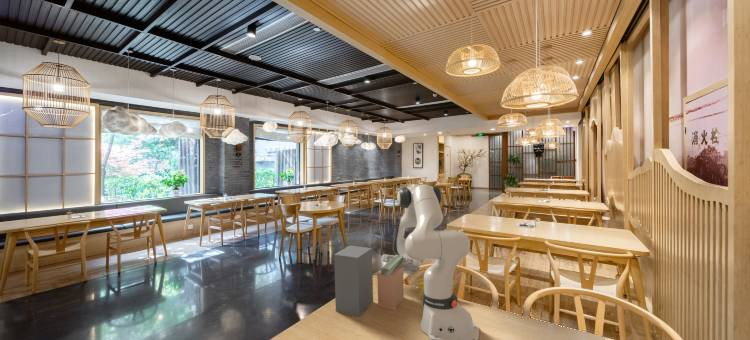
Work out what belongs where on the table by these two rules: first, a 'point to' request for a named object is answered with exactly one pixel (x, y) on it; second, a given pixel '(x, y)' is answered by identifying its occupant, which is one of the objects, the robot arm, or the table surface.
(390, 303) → the terracotta block
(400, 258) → the sage bar
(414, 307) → the table surface
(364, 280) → the tall grey pillar
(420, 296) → the candy box
